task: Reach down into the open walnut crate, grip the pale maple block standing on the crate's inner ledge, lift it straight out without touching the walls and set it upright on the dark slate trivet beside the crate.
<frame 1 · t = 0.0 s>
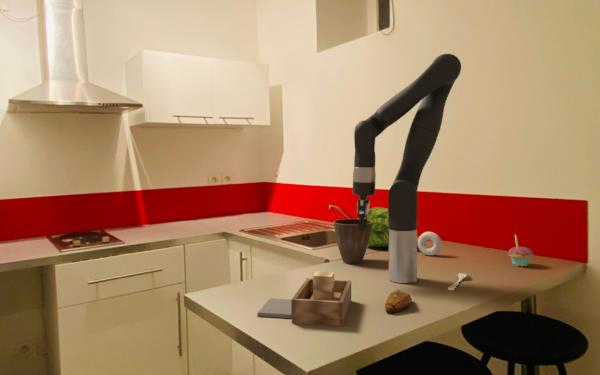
hand: (362, 228, 155), 17 cm above the worktop, tool pointing down, fingers open, 8 cm apart
donut: (429, 256, 190), on the worktop
walnut crate: (323, 311, 124), on the worktop
cupcake: (520, 266, 171), on the worktop
maple block: (324, 299, 125), point 3 cm above the worktop, touching walnut crate
plant pot: (352, 262, 180), on the worktop
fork: (458, 284, 150), on the worktop
croissant: (398, 308, 127), on the worktop
lettuce: (384, 248, 206), on the worktop
slate trivet: (279, 309, 126), on the worktop
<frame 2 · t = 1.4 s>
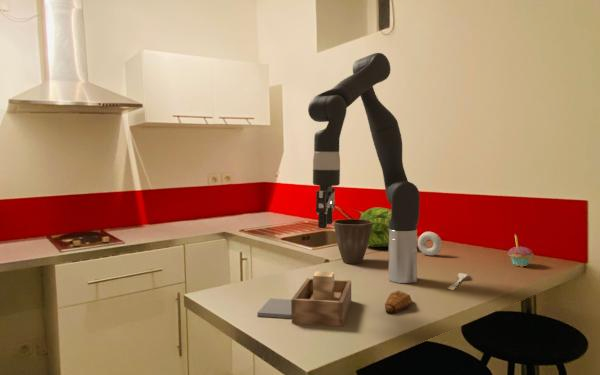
hand: (325, 225, 129), 22 cm above the worktop, tool pointing down, fingers open, 8 cm apart
nothing on the worktop moved.
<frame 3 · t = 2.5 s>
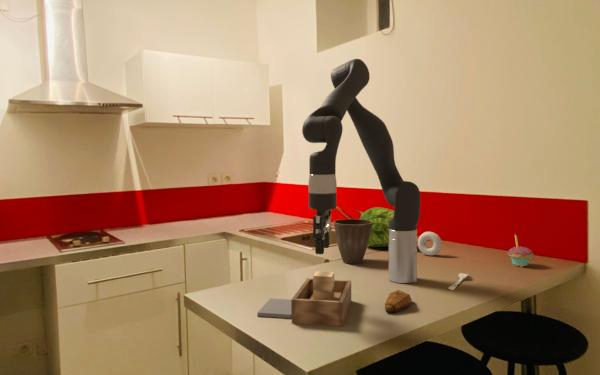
hand: (322, 250, 124), 16 cm above the worktop, tool pointing down, fingers open, 8 cm apart
nothing on the worktop moved.
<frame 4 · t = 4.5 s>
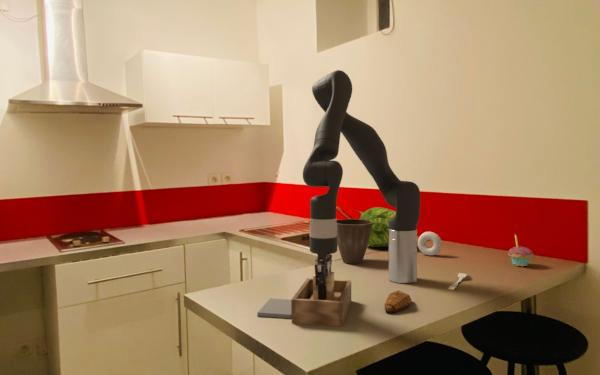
hand: (324, 295, 125), 4 cm above the worktop, tool pointing down, fingers closed on maple block, 5 cm apart
maple block: (324, 299, 125), point 3 cm above the worktop, touching gripper, walnut crate
everything else where it was.
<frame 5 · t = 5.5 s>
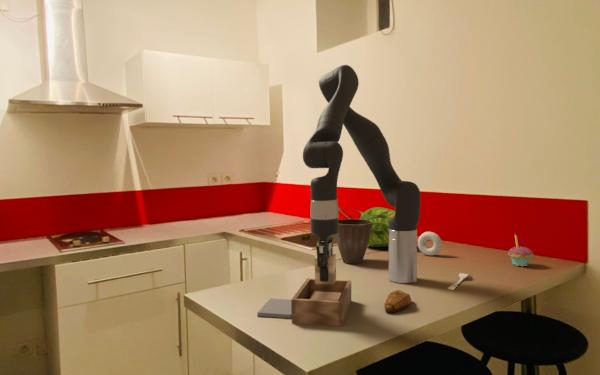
hand: (325, 278, 124), 9 cm above the worktop, tool pointing down, fingers closed on maple block, 5 cm apart
maple block: (325, 281, 124), point 8 cm above the worktop, touching gripper
everything else where it was.
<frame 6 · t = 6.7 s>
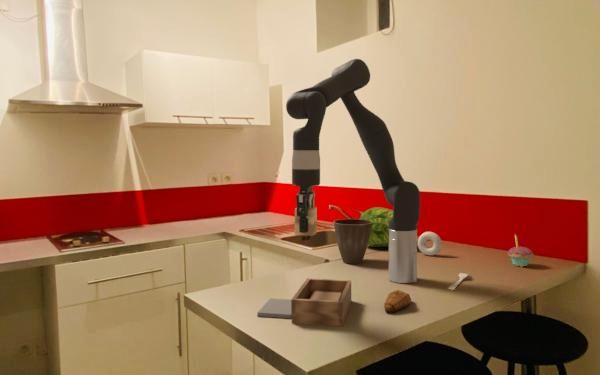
hand: (305, 230, 124), 22 cm above the worktop, tool pointing down, fingers closed on maple block, 5 cm apart
maple block: (305, 233, 124), point 21 cm above the worktop, touching gripper
everything else where it was.
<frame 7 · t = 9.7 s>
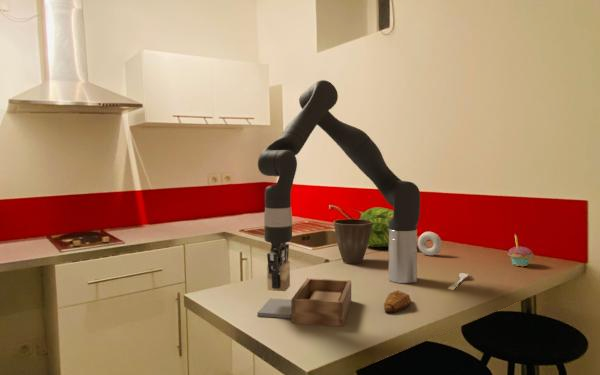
hand: (279, 284, 126), 7 cm above the worktop, tool pointing down, fingers closed on maple block, 5 cm apart
maple block: (278, 288, 126), point 6 cm above the worktop, touching gripper
everything else where it was.
when the fingers open (3 cm above the worktop, at t = 11.4 s): maple block drops 1 cm, resting on slate trivet.
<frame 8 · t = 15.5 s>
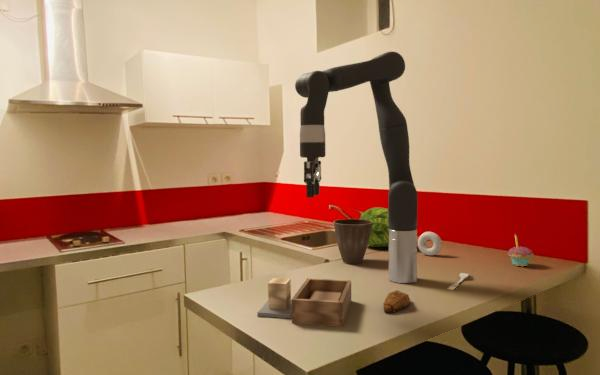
hand: (313, 196, 136), 30 cm above the worktop, tool pointing down, fingers open, 8 cm apart
maple block: (279, 305, 126), point 1 cm above the worktop, touching slate trivet
everything else where it was.
at the end: maple block inside the target area on the slate trivet (0.1 cm from its centre), point 1.0 cm above the slate trivet's base; maple block tilted 0°; the gripper is holding nothing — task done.
